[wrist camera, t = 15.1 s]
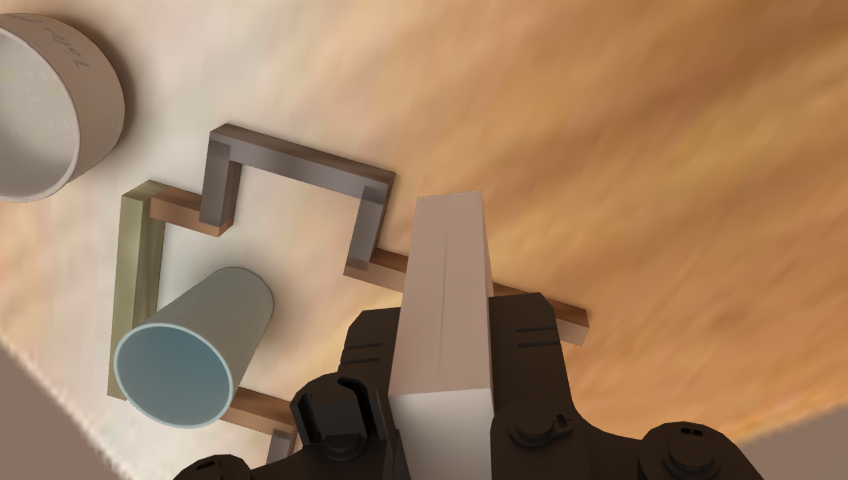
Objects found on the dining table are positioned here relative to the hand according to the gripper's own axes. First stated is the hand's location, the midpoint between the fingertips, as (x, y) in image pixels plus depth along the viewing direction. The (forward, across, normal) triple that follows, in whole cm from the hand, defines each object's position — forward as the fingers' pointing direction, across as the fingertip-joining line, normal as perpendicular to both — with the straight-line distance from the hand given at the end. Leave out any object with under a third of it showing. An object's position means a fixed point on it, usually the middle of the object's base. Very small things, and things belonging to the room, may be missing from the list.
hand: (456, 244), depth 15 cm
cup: (+26, -19, -18) cm, 37 cm away
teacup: (+29, -29, -1) cm, 41 cm away
